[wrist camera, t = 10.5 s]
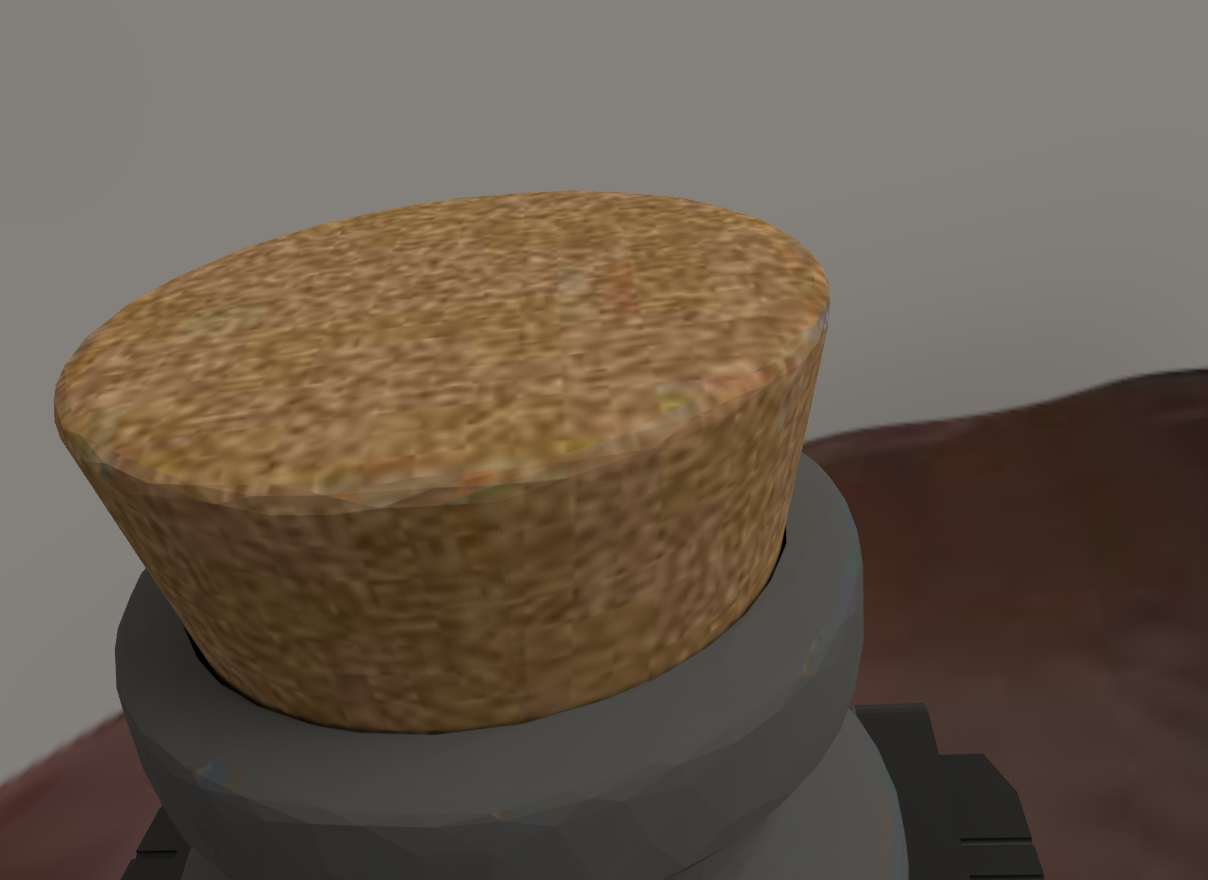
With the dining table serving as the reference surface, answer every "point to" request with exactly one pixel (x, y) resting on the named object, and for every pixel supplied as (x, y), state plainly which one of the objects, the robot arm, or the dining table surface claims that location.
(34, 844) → the dining table surface
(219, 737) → the bottle
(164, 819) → the robot arm
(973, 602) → the dining table surface
